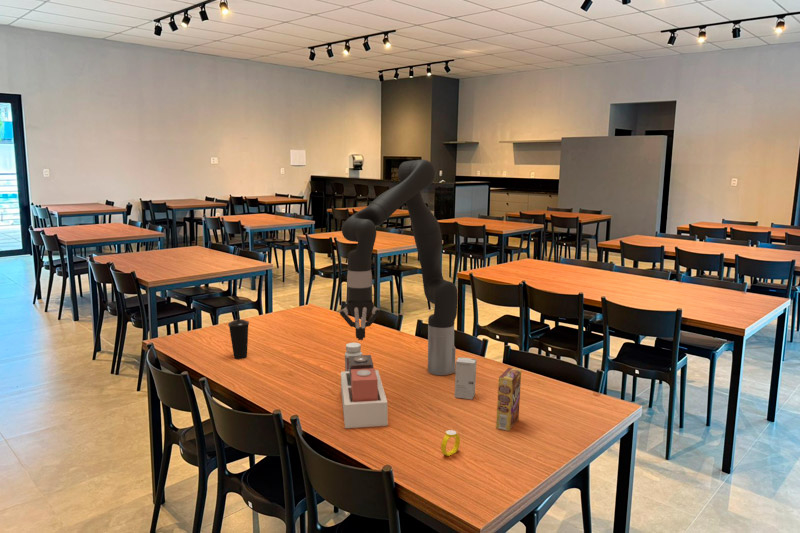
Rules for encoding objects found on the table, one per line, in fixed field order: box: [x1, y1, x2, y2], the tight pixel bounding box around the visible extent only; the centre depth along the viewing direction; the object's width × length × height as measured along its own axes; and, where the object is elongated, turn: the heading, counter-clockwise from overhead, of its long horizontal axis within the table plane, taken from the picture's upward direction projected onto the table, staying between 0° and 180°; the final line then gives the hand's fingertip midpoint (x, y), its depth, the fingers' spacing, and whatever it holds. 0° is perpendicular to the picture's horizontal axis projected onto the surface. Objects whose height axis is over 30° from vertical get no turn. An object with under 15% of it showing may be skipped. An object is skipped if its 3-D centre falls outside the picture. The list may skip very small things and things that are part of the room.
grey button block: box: [349, 354, 374, 386], centre depth 176 cm, size 7×9×8 cm
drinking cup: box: [227, 306, 250, 360], centre depth 216 cm, size 8×8×20 cm
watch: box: [440, 429, 461, 457], centre depth 144 cm, size 6×3×6 cm, turn 136°
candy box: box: [495, 367, 522, 432], centre depth 159 cm, size 9×4×15 cm, turn 152°
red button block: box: [351, 367, 378, 402], centre depth 164 cm, size 7×9×8 cm
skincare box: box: [454, 357, 477, 400], centre depth 179 cm, size 6×4×12 cm
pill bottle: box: [344, 342, 363, 372], centre depth 197 cm, size 6×6×11 cm
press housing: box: [340, 369, 389, 429], centre depth 171 cm, size 12×26×7 cm, turn 8°
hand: (360, 339), depth 174 cm, fingers closed
